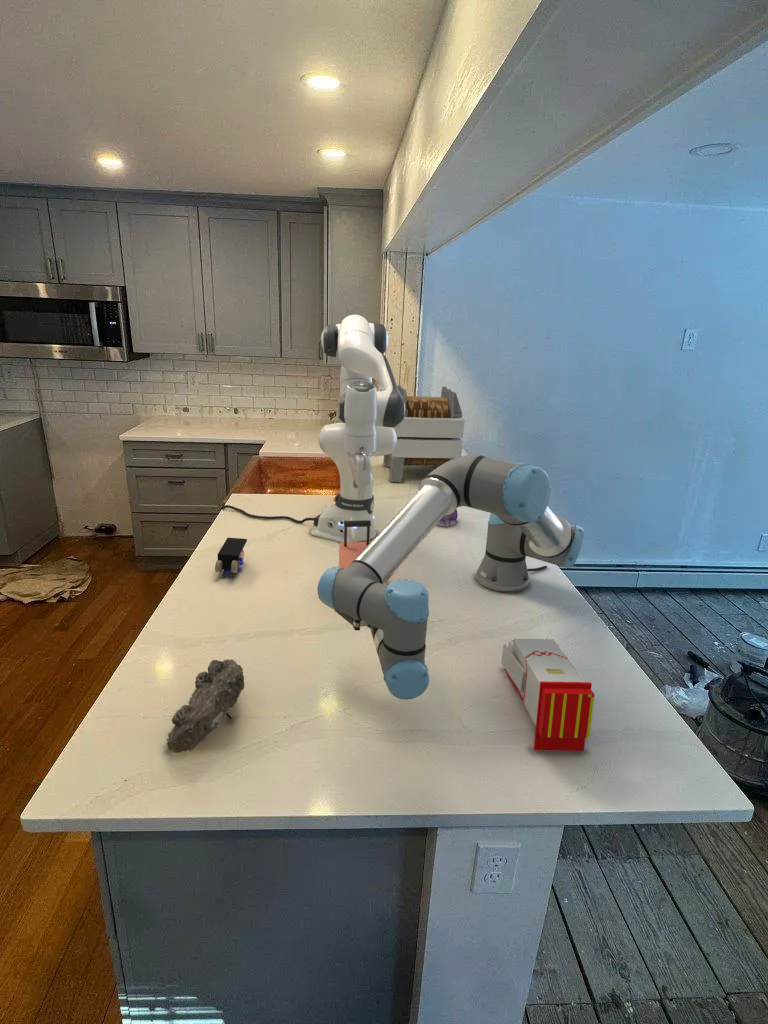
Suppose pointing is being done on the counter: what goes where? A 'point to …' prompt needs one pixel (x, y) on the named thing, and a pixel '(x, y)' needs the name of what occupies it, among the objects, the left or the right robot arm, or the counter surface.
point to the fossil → (206, 705)
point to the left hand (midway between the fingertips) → (358, 492)
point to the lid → (353, 548)
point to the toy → (550, 693)
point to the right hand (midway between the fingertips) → (375, 586)
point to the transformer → (426, 433)
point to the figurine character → (230, 556)
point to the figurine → (448, 519)
